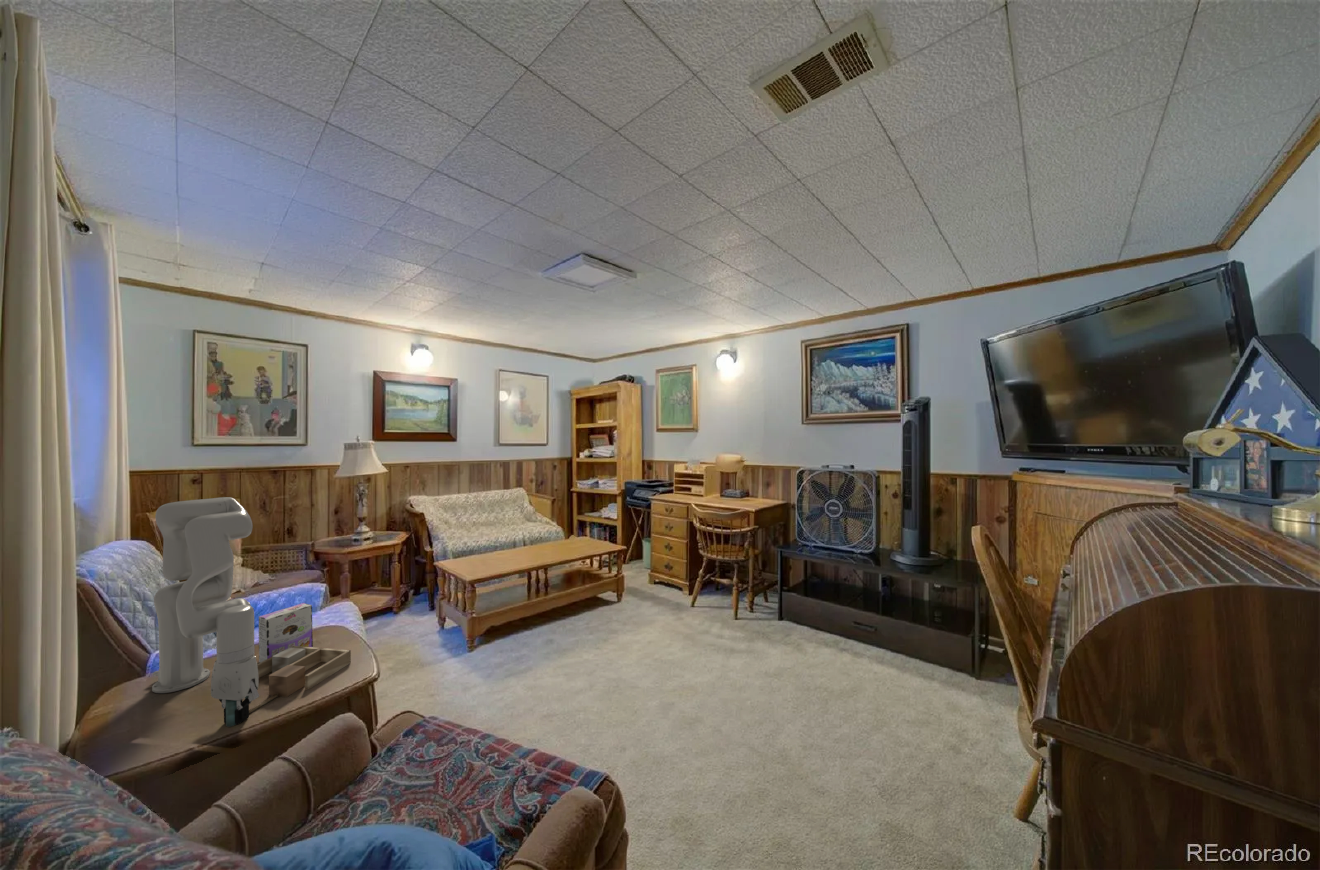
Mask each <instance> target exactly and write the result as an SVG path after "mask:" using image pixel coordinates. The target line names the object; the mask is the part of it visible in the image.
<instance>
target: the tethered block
mask: <svg viewBox="0 0 1320 870" xmlns="http://www.w3.org/2000/svg"><path fill="white" fill-rule="evenodd" d="M305 675H306V671H305V666H294V665H287V666H285V667H283V668H281V669H280V670H278V671H276V672H274V673H272V672H271V673H269V675H268V696H270V697H269V698H267V699H265V700H264V701H261V702H260V703H259V704H257V705H255V706H254V707H252V708H249V714H251V713H252V712H255V711H256V710H257V709H259V708H260V707H262V706H264V705H265V704H267V703H269V702H271V701H272V700H273V699H275V698H277V697H281V698H283V697H284V698H288V697H289V696H291V695H292V694H294V693H296V692H298V691H299V690H300V689H302V688H305ZM236 709H237V702H236V701H235V700H227V701H226V723H225V727H228V728H229V727H234V726H235V725H236V726H237V724H235V710H236Z"/></svg>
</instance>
